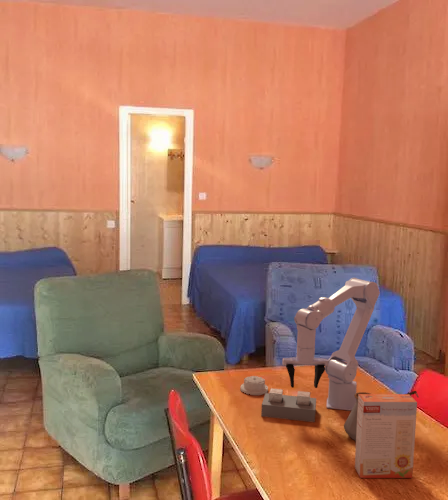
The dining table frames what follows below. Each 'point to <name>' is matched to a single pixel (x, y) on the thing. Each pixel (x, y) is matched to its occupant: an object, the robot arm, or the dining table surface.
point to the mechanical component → (254, 386)
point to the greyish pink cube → (275, 395)
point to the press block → (289, 409)
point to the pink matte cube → (303, 398)
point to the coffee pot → (351, 421)
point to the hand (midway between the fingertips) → (303, 386)
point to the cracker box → (385, 435)
